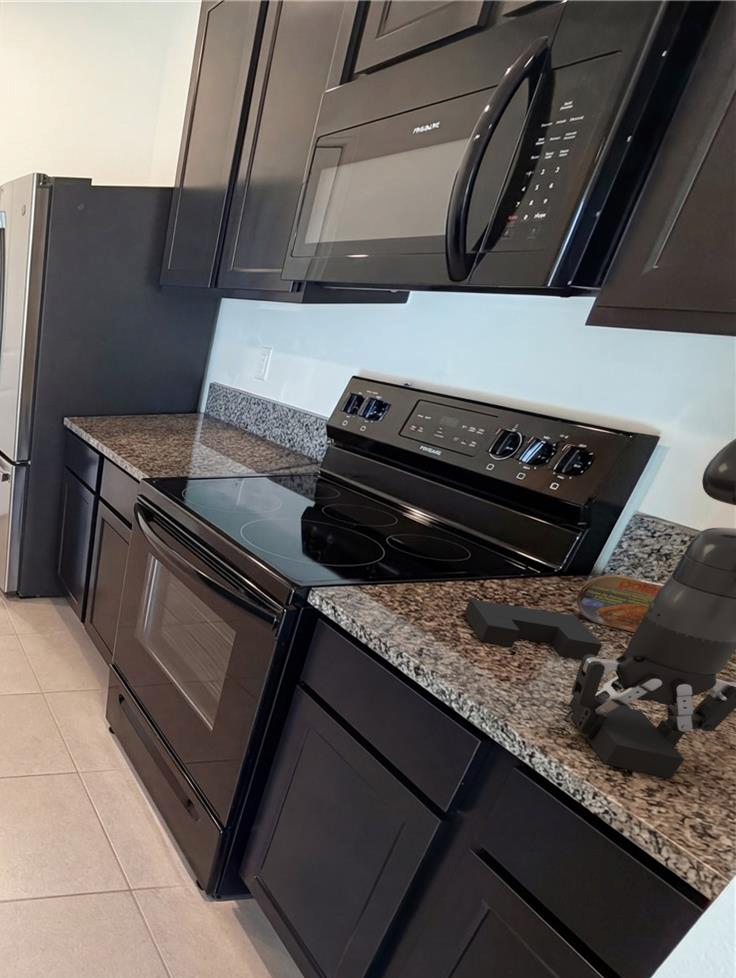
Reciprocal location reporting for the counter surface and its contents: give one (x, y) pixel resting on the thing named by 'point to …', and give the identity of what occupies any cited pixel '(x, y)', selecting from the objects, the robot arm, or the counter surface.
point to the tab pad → (632, 742)
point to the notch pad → (531, 628)
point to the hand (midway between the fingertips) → (620, 742)
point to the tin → (617, 600)
